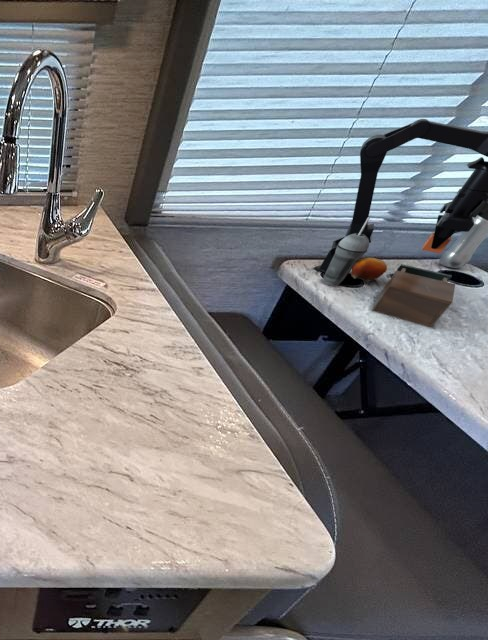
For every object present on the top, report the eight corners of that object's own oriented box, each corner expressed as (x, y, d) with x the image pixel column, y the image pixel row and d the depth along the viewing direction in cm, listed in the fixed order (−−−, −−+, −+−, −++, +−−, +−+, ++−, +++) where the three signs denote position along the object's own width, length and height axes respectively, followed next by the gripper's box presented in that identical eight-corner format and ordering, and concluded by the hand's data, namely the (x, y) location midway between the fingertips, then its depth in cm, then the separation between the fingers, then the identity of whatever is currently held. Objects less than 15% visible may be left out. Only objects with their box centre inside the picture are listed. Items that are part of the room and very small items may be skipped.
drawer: (390, 277, 124) (402, 259, 120) (438, 288, 117) (452, 270, 114) (382, 295, 115) (395, 277, 111) (433, 309, 108) (449, 290, 105)
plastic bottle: (464, 272, 127) (517, 209, 114) (437, 267, 130) (486, 205, 117) (459, 264, 132) (510, 203, 119) (433, 260, 134) (480, 200, 121)
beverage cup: (318, 285, 122) (356, 220, 109) (315, 275, 127) (352, 213, 114) (346, 290, 119) (388, 224, 106) (342, 280, 124) (382, 216, 111)
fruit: (346, 277, 123) (361, 252, 121) (342, 281, 129) (357, 258, 127) (378, 284, 119) (395, 259, 116) (373, 289, 125) (388, 264, 123)
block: (440, 253, 110) (451, 239, 108) (421, 249, 113) (431, 236, 110) (441, 249, 113) (451, 235, 110) (422, 245, 115) (432, 232, 112)
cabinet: (379, 293, 117) (396, 270, 112) (435, 308, 110) (455, 284, 106) (372, 310, 110) (389, 286, 105) (430, 327, 103) (452, 302, 98)
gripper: (524, 202, 92) (472, 264, 103) (519, 186, 103) (472, 244, 113) (460, 194, 98) (417, 253, 108) (461, 179, 109) (422, 234, 119)
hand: (433, 246), depth 112 cm, fingers closed on block, 4 cm apart
